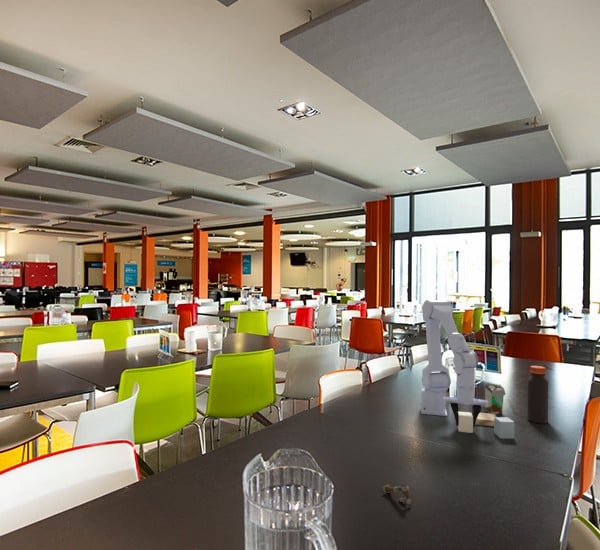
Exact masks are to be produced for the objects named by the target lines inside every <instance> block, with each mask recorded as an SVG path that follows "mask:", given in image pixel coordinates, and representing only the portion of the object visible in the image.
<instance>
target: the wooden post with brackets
mask: <svg viewBox="0 0 600 550" xmlns="http://www.w3.org/2000/svg"><path fill="white" fill-rule="evenodd" d="M382 489H383V493H384V492H385V493H386V492H387V493H388V492H391V493H392V492H393V493H400V492H401V493H402V494H403V495H404V497H400V498H398V501H399V500H400V501H402V502H403V503H402V504H405V503H404V502H406V504H407V506H408V505H409V506H408V507H410V506H412V500H411V498H410V496H409V492H408V491H409V490H410V487H409V485H406V484H405V483H403V484H401V486H394V487H393V486H390V485H389V484H386V485H384V486H382ZM385 493H384V494H385Z"/></svg>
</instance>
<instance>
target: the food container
mask: <svg viewBox="0 0 600 550" xmlns="http://www.w3.org/2000/svg"><path fill="white" fill-rule="evenodd" d="M505 395H506V389H505V388H504V387H503V386H502V385H500V384H499V385H498V384H494V383H487V382H485V383H484V400H487V401H488V407H484V408H485V410H486V412H488V413H489V414H495V415H496V417H499V416H500V417H501V416H502V414H503V405H504V396H505Z"/></svg>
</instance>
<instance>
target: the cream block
mask: <svg viewBox="0 0 600 550" xmlns="http://www.w3.org/2000/svg"><path fill="white" fill-rule="evenodd" d="M458 421H459V426H457V430H458V432H461V433H469V434H470V433H471V434H473V433H474V428H473V415H472V412H469V411H467V412H466V411H458Z"/></svg>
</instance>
